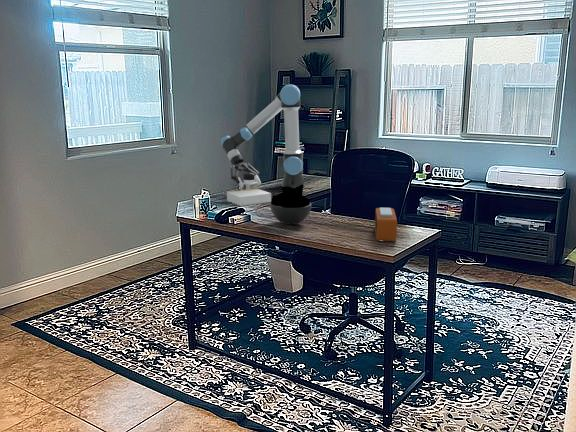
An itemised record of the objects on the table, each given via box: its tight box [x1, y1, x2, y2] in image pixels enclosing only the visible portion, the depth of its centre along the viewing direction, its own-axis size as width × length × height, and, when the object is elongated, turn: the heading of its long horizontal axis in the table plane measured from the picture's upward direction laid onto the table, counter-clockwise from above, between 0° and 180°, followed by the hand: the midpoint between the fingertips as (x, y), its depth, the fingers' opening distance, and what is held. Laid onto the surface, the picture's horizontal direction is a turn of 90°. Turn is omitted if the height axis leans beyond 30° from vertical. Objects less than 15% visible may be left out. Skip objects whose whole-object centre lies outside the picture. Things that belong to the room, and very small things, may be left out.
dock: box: [226, 187, 272, 207], centre depth 322 cm, size 20×16×5 cm
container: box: [240, 172, 259, 190], centre depth 339 cm, size 8×8×13 cm
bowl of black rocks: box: [269, 184, 313, 225], centre depth 272 cm, size 20×20×19 cm
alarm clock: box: [374, 207, 398, 242], centre depth 254 cm, size 24×8×11 cm, turn 173°
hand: (251, 185), depth 337 cm, fingers open, 13 cm apart
